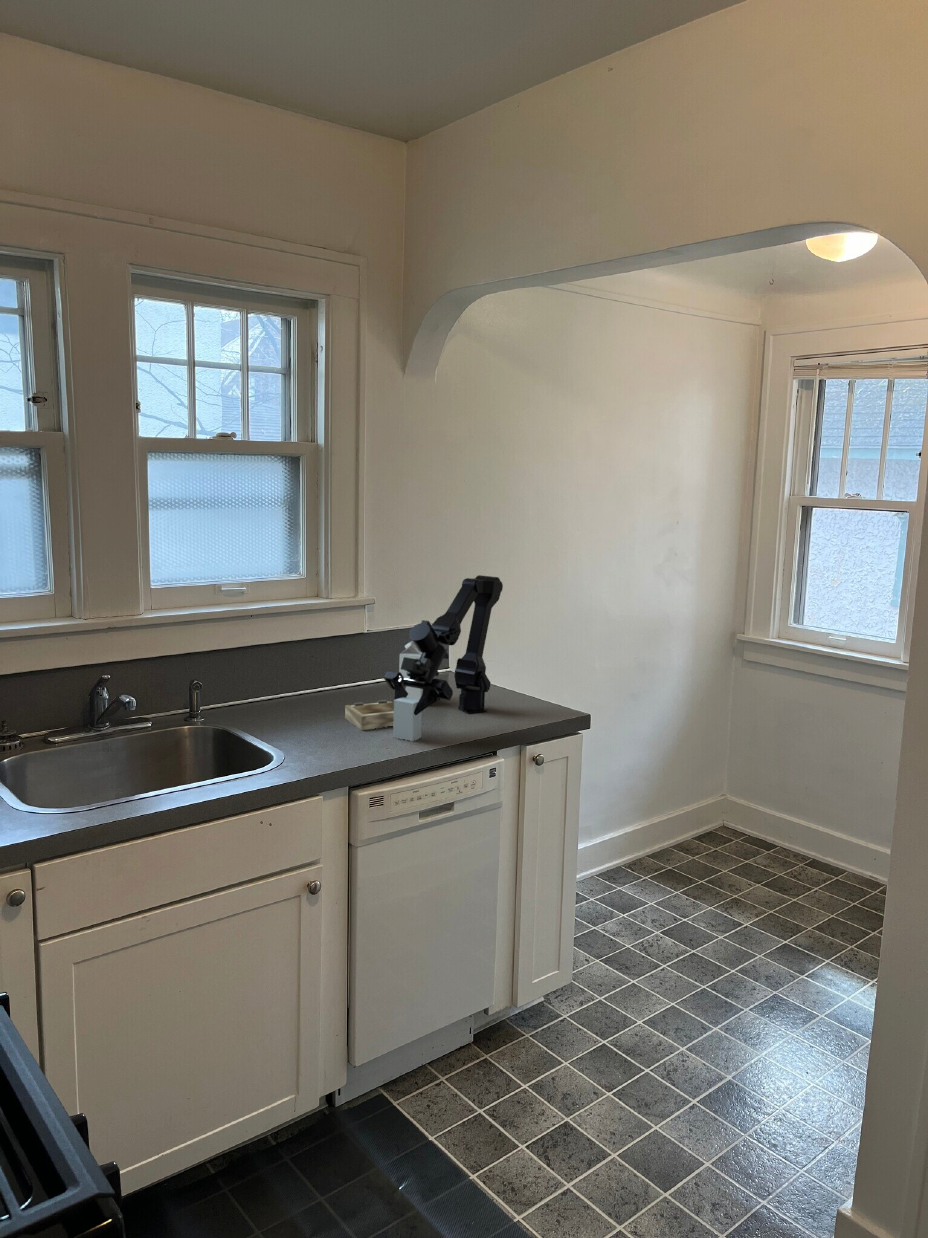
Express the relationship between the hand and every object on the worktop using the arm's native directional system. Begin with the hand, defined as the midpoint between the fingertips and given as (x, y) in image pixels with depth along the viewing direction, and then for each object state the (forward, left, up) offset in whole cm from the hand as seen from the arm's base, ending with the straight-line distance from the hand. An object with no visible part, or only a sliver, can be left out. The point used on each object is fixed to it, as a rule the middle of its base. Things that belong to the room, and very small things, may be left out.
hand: (404, 712), depth 238 cm
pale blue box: (-1, -1, -7) cm, 7 cm away
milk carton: (-18, -32, -7) cm, 37 cm away
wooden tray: (0, -17, -7) cm, 19 cm away
